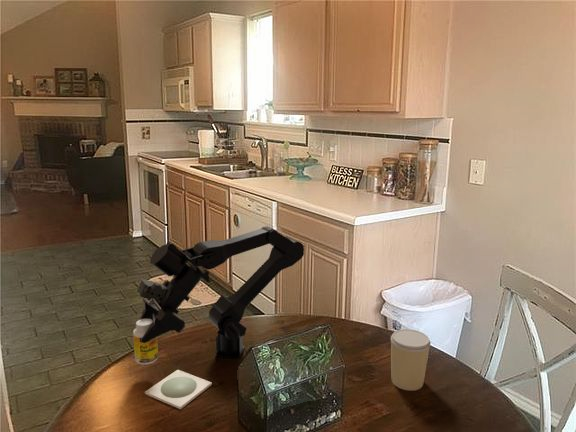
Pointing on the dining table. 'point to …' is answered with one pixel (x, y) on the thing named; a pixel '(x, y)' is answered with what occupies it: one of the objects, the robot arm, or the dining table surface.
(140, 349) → the supplement bottle
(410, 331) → the coffee cup
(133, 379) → the dining table surface
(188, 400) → the card
